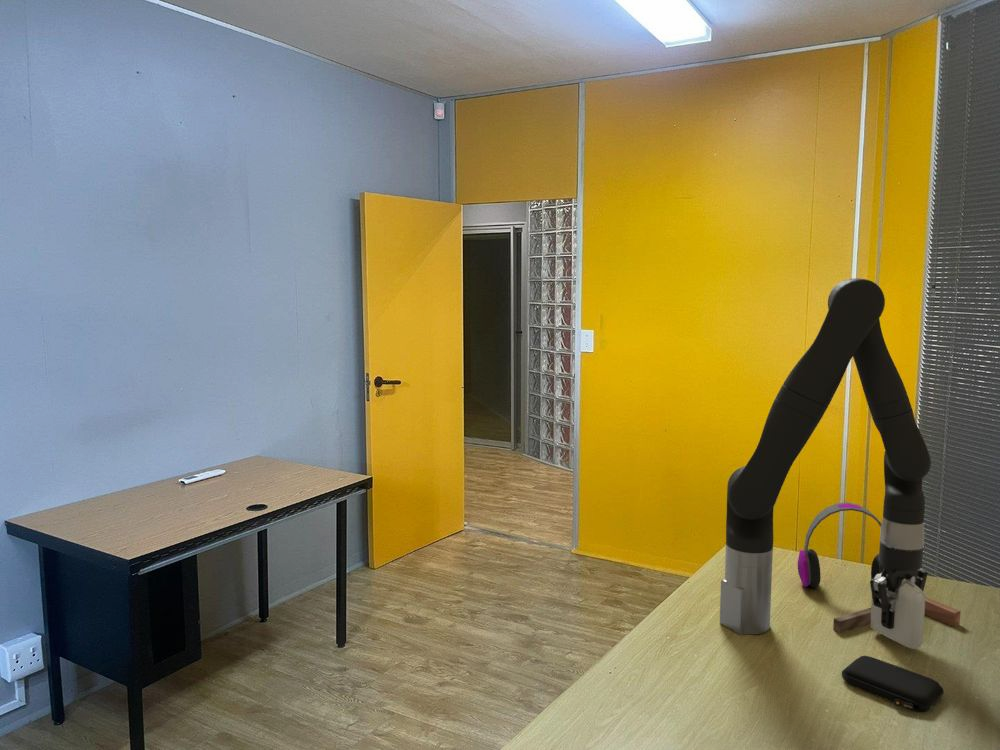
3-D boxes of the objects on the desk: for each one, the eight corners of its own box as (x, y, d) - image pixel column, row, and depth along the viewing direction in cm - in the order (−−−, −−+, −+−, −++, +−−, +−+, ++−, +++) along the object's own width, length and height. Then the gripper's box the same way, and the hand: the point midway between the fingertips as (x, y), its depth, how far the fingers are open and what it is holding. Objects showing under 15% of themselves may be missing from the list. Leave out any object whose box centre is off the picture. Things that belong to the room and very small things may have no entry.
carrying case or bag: (834, 686, 133) (923, 722, 122) (835, 670, 132) (925, 705, 121) (859, 664, 140) (946, 697, 129) (860, 649, 139) (947, 680, 129)
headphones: (888, 585, 174) (894, 502, 171) (899, 601, 166) (905, 514, 163) (794, 577, 179) (797, 497, 176) (800, 593, 170) (804, 508, 168)
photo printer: (866, 627, 151) (869, 569, 149) (882, 623, 153) (885, 566, 151) (909, 651, 141) (913, 589, 140) (926, 647, 143) (930, 586, 141)
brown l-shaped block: (877, 652, 144) (877, 637, 143) (833, 630, 153) (833, 616, 152) (959, 624, 154) (960, 610, 154) (913, 605, 163) (914, 592, 163)
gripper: (908, 529, 151) (903, 609, 153) (859, 541, 145) (854, 624, 147) (944, 541, 144) (938, 624, 146) (894, 554, 138) (888, 640, 140)
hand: (896, 624), depth 147 cm, fingers closed on photo printer, 4 cm apart
